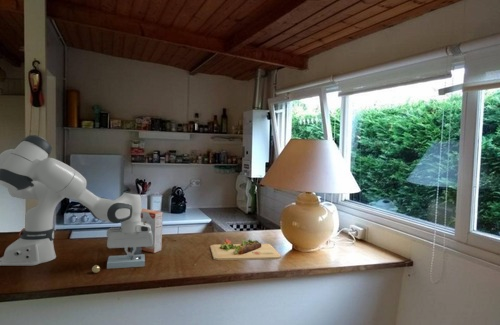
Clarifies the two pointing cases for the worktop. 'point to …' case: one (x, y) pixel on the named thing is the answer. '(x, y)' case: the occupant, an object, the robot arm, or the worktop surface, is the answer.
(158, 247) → the cracker box
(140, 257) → the deck
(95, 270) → the brass ball
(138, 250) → the block
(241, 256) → the cutting board
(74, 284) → the worktop surface
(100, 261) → the worktop surface
